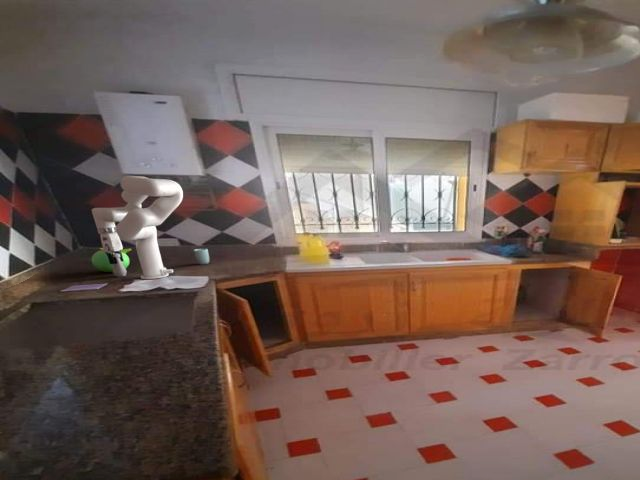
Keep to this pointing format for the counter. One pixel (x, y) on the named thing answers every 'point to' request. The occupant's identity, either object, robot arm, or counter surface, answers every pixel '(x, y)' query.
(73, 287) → the dish towel
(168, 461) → the counter surface
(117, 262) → the salt shaker
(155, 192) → the robot arm
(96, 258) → the green round piece
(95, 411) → the counter surface
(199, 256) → the cup
